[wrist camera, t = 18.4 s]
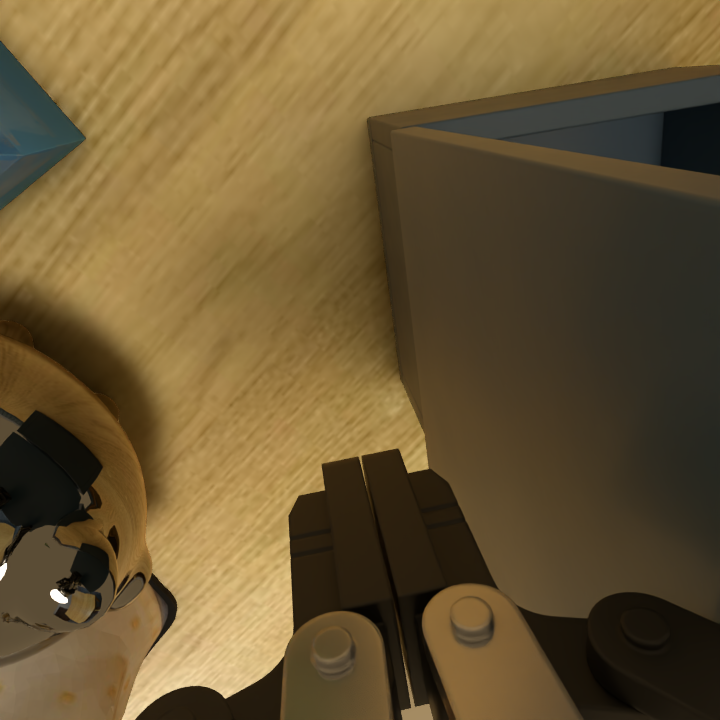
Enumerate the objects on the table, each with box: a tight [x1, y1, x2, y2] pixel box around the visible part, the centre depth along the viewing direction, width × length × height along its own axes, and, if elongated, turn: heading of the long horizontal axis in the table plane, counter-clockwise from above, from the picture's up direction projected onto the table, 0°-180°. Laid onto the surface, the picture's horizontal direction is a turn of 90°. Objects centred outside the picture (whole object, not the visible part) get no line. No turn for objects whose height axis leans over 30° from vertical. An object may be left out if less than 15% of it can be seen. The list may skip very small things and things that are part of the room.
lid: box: [390, 127, 720, 624], centre depth 13 cm, size 13×12×1 cm
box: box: [367, 65, 720, 433], centre depth 23 cm, size 13×12×7 cm
